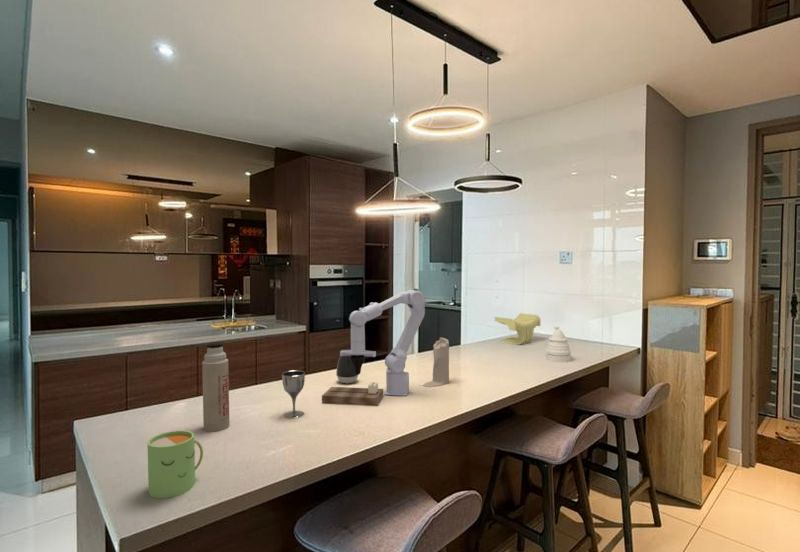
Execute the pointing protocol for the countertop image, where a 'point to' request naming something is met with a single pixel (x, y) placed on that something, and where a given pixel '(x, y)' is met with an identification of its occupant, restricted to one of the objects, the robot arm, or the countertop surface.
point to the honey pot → (558, 348)
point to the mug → (172, 463)
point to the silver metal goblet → (293, 389)
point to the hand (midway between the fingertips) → (358, 373)
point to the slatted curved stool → (521, 327)
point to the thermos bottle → (215, 388)
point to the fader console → (352, 396)
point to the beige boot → (440, 363)
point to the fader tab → (373, 388)
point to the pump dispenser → (346, 370)
